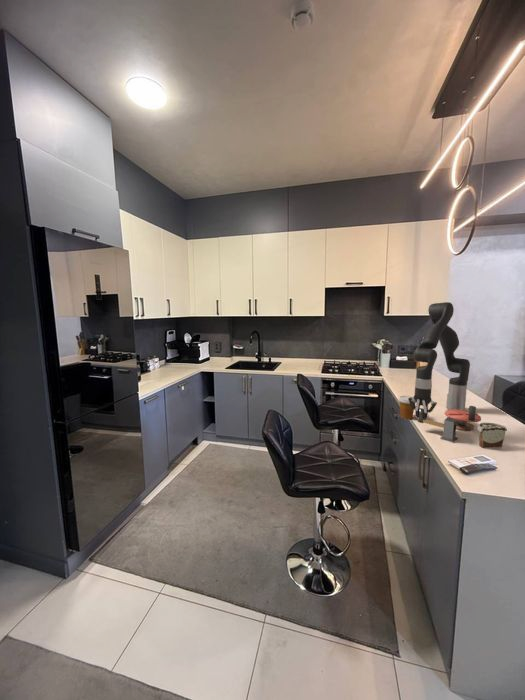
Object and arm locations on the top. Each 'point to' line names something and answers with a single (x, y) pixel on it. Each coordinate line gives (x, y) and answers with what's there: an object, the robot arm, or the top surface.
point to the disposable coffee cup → (405, 407)
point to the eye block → (449, 430)
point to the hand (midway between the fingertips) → (421, 418)
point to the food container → (491, 435)
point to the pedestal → (465, 427)
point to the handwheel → (464, 415)
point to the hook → (421, 420)
